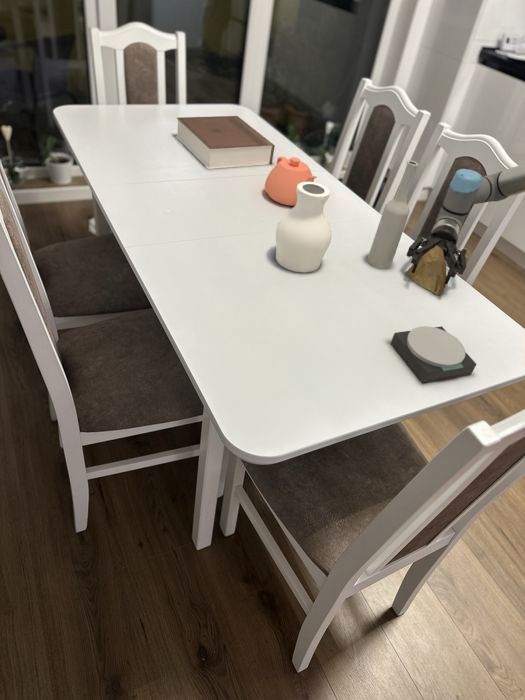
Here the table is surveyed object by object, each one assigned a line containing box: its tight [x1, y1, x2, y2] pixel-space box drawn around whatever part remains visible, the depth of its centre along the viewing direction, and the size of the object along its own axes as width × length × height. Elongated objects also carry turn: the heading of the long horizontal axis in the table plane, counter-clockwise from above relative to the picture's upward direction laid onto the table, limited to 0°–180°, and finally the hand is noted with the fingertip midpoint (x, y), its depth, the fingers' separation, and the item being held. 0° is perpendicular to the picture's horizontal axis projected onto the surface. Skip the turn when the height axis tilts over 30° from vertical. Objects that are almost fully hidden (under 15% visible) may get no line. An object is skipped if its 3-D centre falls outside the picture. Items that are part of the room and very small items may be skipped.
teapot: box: [264, 155, 318, 207], centre depth 165 cm, size 22×16×12 cm
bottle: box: [367, 160, 419, 270], centre depth 139 cm, size 7×7×28 cm
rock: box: [405, 246, 447, 296], centre depth 140 cm, size 11×9×10 cm
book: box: [175, 115, 276, 170], centre depth 189 cm, size 24×28×6 cm
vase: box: [275, 181, 333, 274], centre depth 136 cm, size 14×14×20 cm
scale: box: [390, 325, 478, 384], centre depth 118 cm, size 13×13×4 cm
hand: (431, 274), depth 135 cm, fingers closed on rock, 8 cm apart
